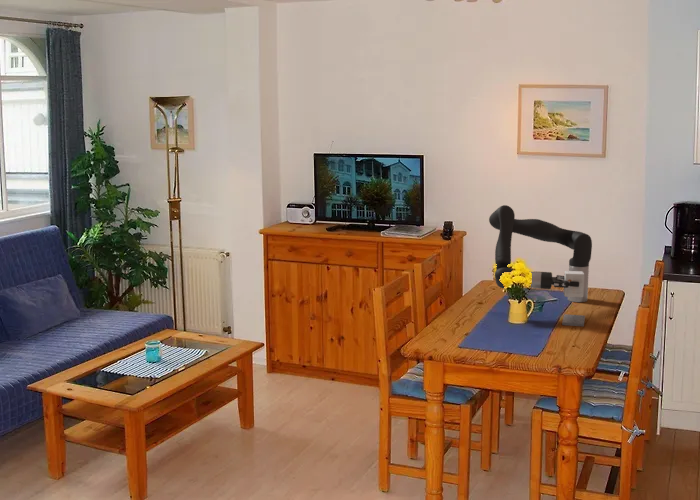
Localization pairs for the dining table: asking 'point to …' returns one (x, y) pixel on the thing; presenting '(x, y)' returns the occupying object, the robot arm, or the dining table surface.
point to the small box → (577, 277)
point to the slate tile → (573, 320)
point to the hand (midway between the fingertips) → (579, 282)
